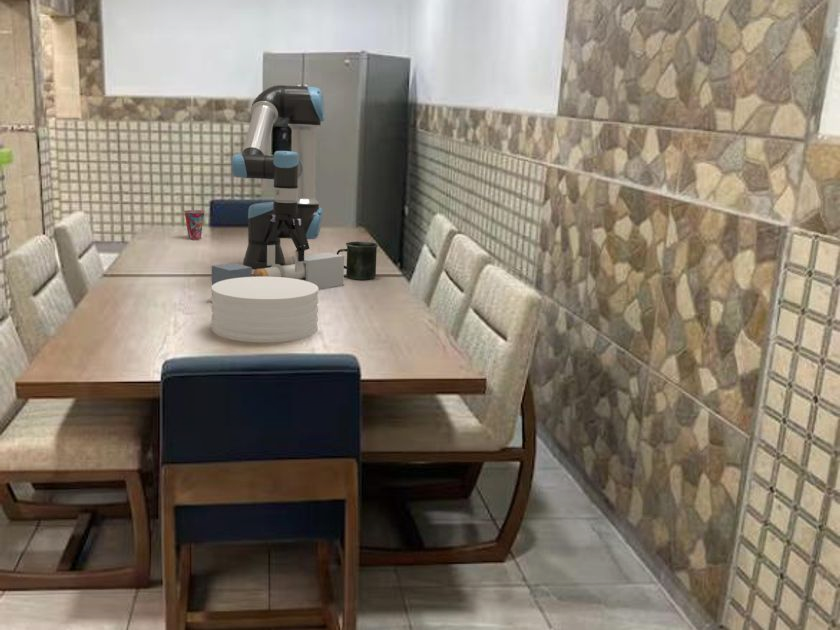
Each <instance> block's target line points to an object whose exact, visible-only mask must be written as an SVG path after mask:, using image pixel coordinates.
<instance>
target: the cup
mask: <svg viewBox="0 0 840 630" xmlns="http://www.w3.org/2000/svg"><path fill="white" fill-rule="evenodd" d="M183 212H184V215H185V223H186V224H185V225H186V229H187V236H188V237H187V238H188V240H189V239H190V241H191V240H192V241H199V240H198V239H202V233H203V223H204V218H205V217H204V216H205V213H206V212H205V210H200V209H189V210H184V211H183Z"/></svg>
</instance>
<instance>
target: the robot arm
mask: <svg viewBox="0 0 840 630" xmlns="http://www.w3.org/2000/svg"><path fill="white" fill-rule="evenodd" d="M325 115H326V110H325V100H324V95H323V92H322V90H321V89H320V88H319V87H317V86H316V87H315V86H306V85H304V86H303V85H302V86H301V85H284V84H283V85H282V84H277V85H273V86H270V87H268V88H266V89H264V90H263V91H261V93H259V94H258V96H257V97H256V98H255V99H254V100H253V102H252V104H251V106H250V116H251V119H250V123H249V125H248V129H247V133H246V136H245V141H244V144H243V147H242V151H241V153H235V154H233V156H232V157H231V158H232V159H231V172H232V175H233V176H234V178H235V177H236V178H244V179H260V180H262V179H263V180H264V179H265V180H273V200H274V201H266V202H259V203H254V204H251V205H249V207H248V210H247V211H248V213H247V225H248V226H247V227H248V229H247V230H248V231H247V236H248V237H247V241H248V242H247V248H246V251H245V255H244V257H243V263H242V265H244V266H248V267H252V269H255V270H256V269H262V268H270V267H271V266H272V265H274V264H279V265H281V266H285V265H286V259H285V257H284V252H283V249H282V245H281V239H289V240H290V239H291V240H292V243H293V244H294V246H295V251H294V255H295V256H294V257H295V272H300V271H303V261H304V256H305V251H307V250H310V244H309V241H308V240H316V239H317V238H318V237H319V235H320V232H321V227H322V221H323V212H324V209H323V208H322V207H320V203H319V201H318V200H317V199H316V154H317V153H316V151H317V149H316V148H317V130H319V128H320V127H321V122H325V120H326V116H325ZM277 120H287V126H288V127H289V128H290V130H291V151H290V150H289V151H288V150H276V151H275V152H274V155H268V154H267V152H268V146H269V143H270V138H271V135H272V131H273V126H274V124H275V123H276V122H277Z"/></svg>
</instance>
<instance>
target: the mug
mask: <svg viewBox="0 0 840 630" xmlns="http://www.w3.org/2000/svg"><path fill="white" fill-rule="evenodd" d="M345 246H346V248H341V249H338V250H337V251H336V254H337V255H340V253H341V252H346V265H344V270H345V271H346V273H345V275H346V277H347V278H348V279H351V280H361V281H367V280H368V281H369V280H373V279H375V278H376V276H377V248H378V246H379V244H378V243H375V242H371V241H348V242H346V243H345Z"/></svg>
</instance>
